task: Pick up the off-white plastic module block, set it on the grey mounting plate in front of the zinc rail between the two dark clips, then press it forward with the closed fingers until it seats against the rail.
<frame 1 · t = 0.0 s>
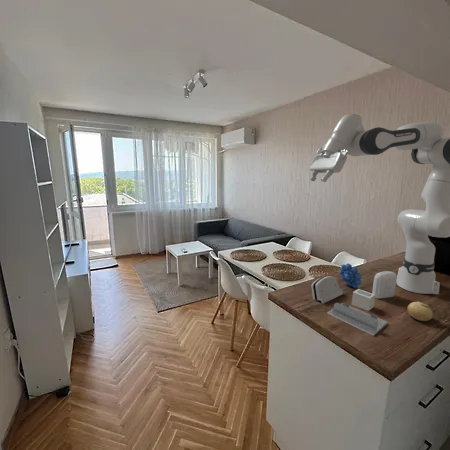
hand: (317, 181, 104), 54 cm above the worktop, tool tilted 30°, fingers open, 8 cm apart
rail base: (356, 318, 98), on the worktop
module: (362, 305, 107), on the worktop
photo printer: (382, 296, 115), on the worktop
onion: (418, 318, 98), on the worktop
grapes: (348, 287, 125), on the worktop
white toaster: (326, 296, 117), on the worktop
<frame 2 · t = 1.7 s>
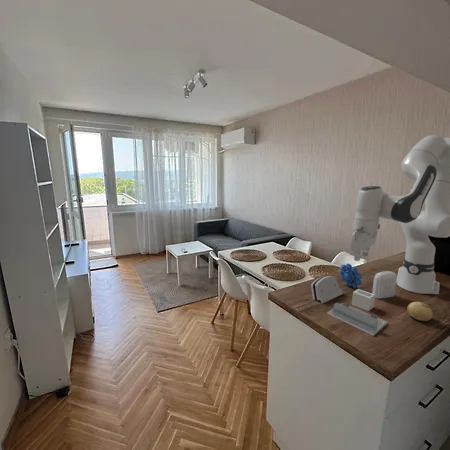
hand: (360, 258, 102), 22 cm above the worktop, tool pointing down, fingers open, 8 cm apart
nothing on the worktop moved.
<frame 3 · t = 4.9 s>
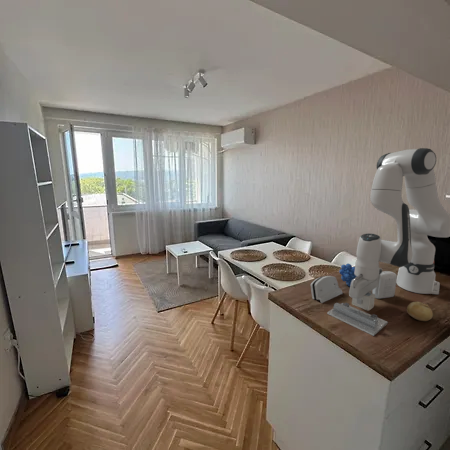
hand: (363, 301, 107), 2 cm above the worktop, tool pointing down, fingers closed on module, 5 cm apart
module: (362, 305, 107), on the worktop, touching gripper
everything else where it was.
when the fingers open (5 cm above the worktop, at t = 9.9 s): module drops 2 cm, resting on rail base.
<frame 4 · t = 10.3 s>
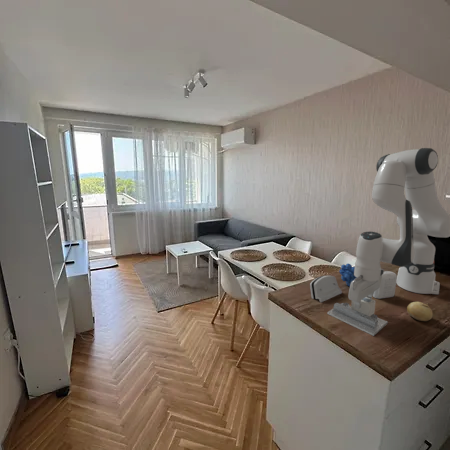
hand: (363, 304, 100), 5 cm above the worktop, tool pointing down, fingers open, 8 cm apart
module: (362, 312, 101), point 1 cm above the worktop, touching rail base
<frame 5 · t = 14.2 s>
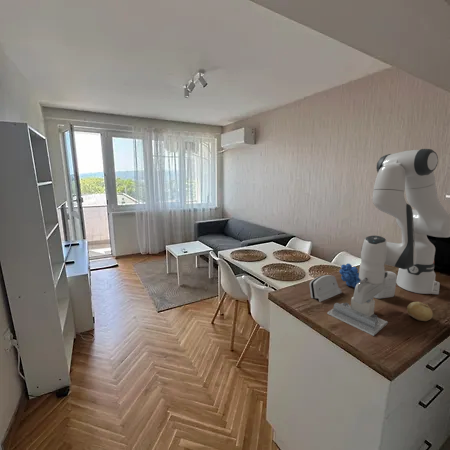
hand: (367, 305, 103), 2 cm above the worktop, tool pointing down, fingers closed
module: (361, 312, 100), point 1 cm above the worktop, touching gripper
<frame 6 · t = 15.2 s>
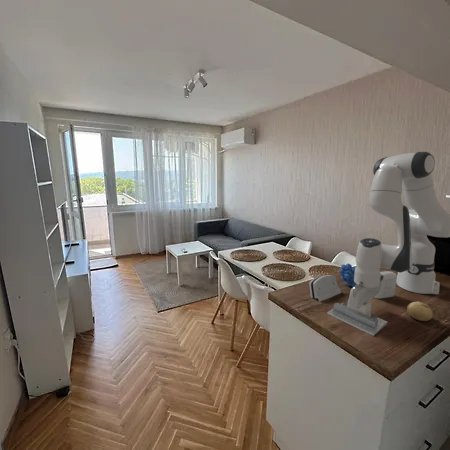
hand: (363, 309, 101), 2 cm above the worktop, tool pointing down, fingers closed
module: (358, 315, 99), point 1 cm above the worktop, touching gripper, rail base
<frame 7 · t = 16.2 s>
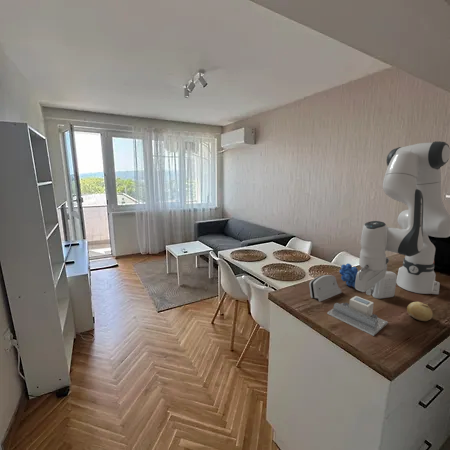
hand: (369, 293, 100), 9 cm above the worktop, tool pointing down, fingers closed
module: (360, 314, 99), point 1 cm above the worktop, touching rail base
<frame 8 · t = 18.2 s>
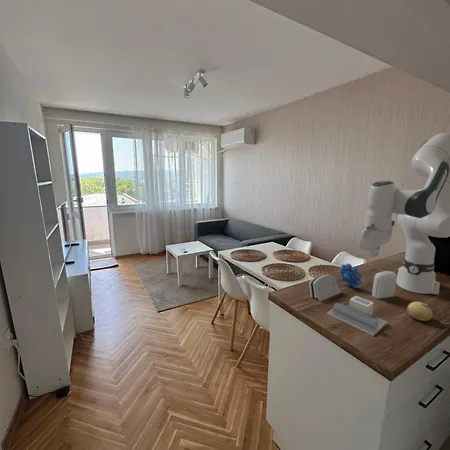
hand: (373, 256, 99), 24 cm above the worktop, tool pointing down, fingers closed
at the end: module 0.5 cm from the target spot on the rail base, point 0.8 cm above the rail base's base; module tilted 0°; the gripper is holding nothing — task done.
